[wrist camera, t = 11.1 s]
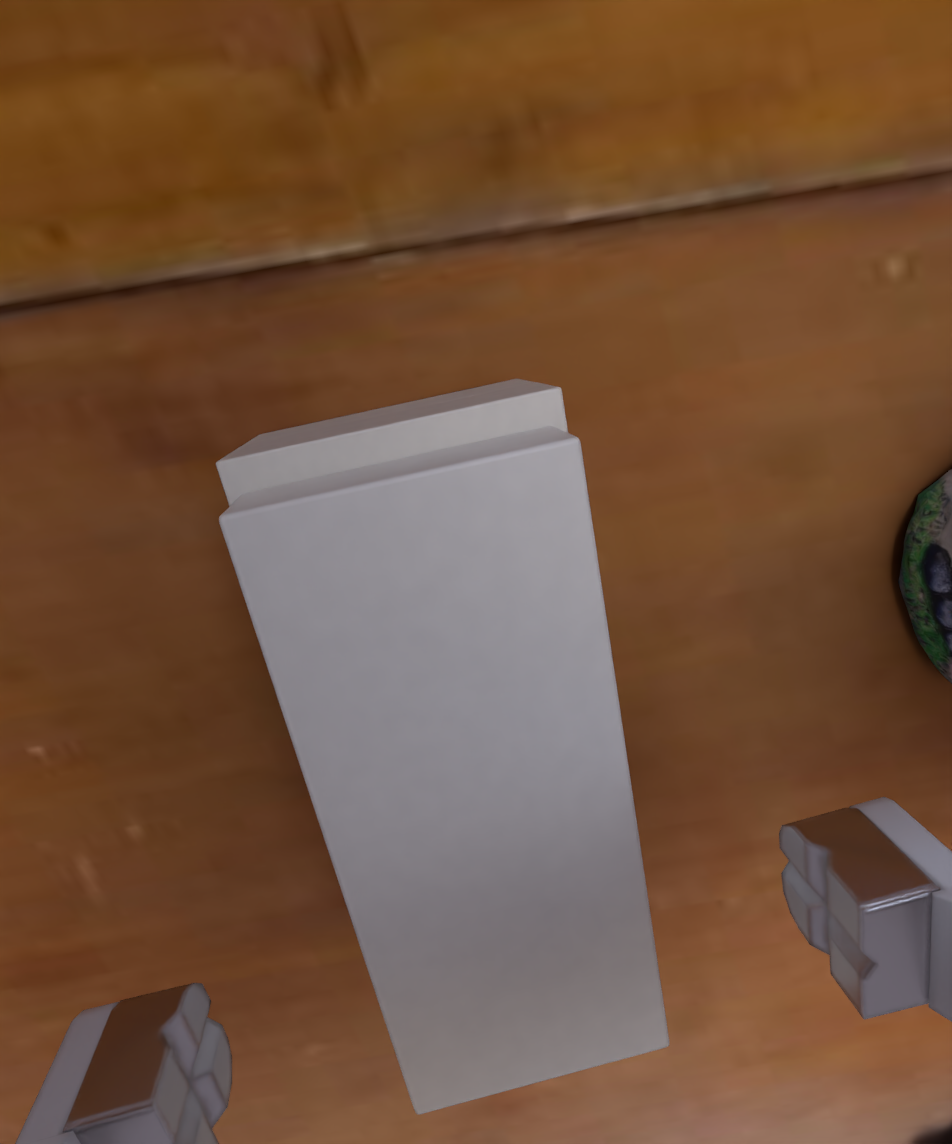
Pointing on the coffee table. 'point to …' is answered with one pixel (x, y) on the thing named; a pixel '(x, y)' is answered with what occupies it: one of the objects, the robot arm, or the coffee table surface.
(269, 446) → the grey oblong block
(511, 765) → the pale grey rectangular block
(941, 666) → the decorative ornament
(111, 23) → the coffee table surface
